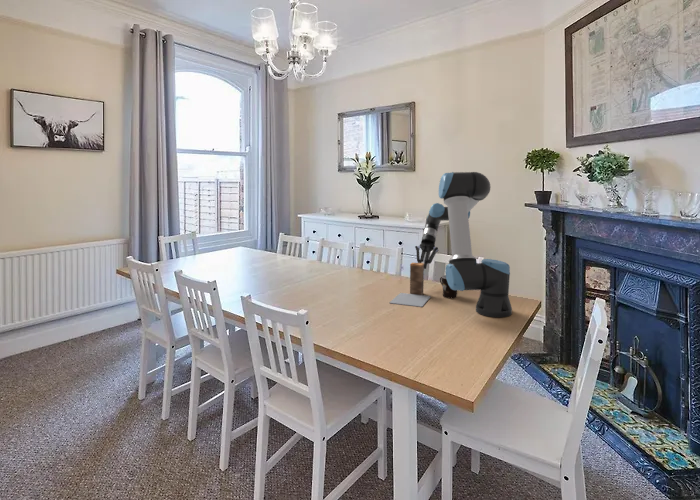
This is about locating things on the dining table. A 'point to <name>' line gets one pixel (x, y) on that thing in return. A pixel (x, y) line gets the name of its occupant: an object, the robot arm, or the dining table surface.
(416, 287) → the walnut block
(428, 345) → the dining table surface
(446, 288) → the coffee mug
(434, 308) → the dining table surface
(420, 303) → the rubber mat
